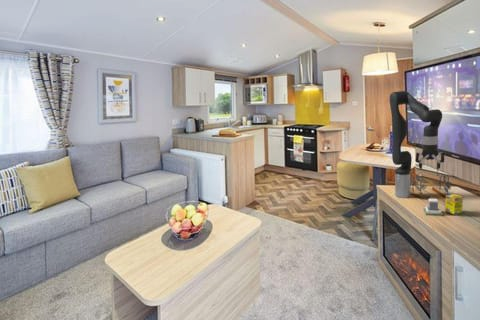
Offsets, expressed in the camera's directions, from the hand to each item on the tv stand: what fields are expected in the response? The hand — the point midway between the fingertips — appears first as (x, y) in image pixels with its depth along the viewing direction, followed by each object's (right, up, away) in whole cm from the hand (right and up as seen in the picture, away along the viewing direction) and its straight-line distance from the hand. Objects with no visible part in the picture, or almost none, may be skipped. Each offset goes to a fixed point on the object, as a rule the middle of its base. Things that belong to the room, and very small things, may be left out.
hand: (429, 168), depth 165 cm
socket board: (+2, -27, -1) cm, 27 cm away
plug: (+2, -26, -1) cm, 26 cm away
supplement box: (+12, -27, -4) cm, 30 cm away
